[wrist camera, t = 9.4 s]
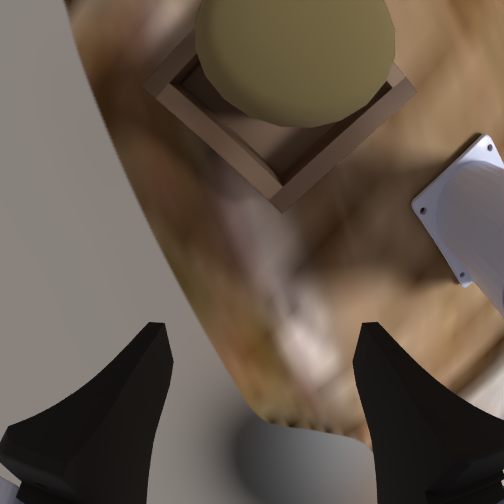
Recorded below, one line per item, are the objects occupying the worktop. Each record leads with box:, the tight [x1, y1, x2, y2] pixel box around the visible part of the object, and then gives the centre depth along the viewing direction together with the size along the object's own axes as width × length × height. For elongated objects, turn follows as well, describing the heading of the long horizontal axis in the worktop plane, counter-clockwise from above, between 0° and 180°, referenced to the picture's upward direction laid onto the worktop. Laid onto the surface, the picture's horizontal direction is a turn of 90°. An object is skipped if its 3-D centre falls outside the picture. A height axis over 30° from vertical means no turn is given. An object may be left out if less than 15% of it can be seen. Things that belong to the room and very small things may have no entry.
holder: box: [142, 28, 417, 214], centre depth 15 cm, size 10×10×4 cm
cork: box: [195, 0, 395, 128], centre depth 10 cm, size 6×6×11 cm
